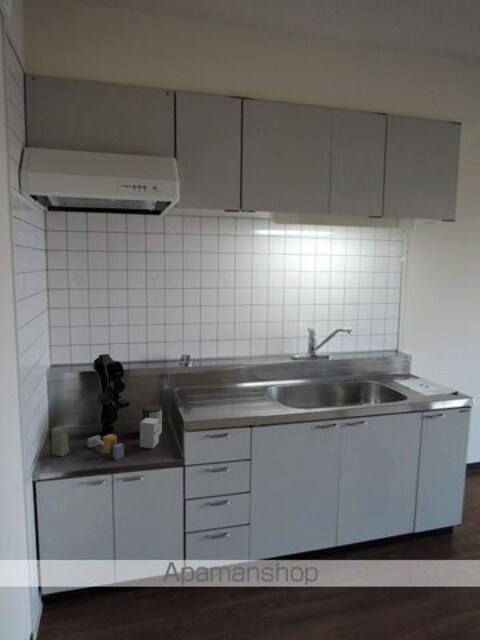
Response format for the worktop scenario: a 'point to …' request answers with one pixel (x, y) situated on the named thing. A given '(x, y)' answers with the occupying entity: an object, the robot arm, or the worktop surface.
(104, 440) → the sleeve
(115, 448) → the grey mallet
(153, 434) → the supplement box
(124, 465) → the worktop surface
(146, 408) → the coffee can
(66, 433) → the skincare box
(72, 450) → the worktop surface
